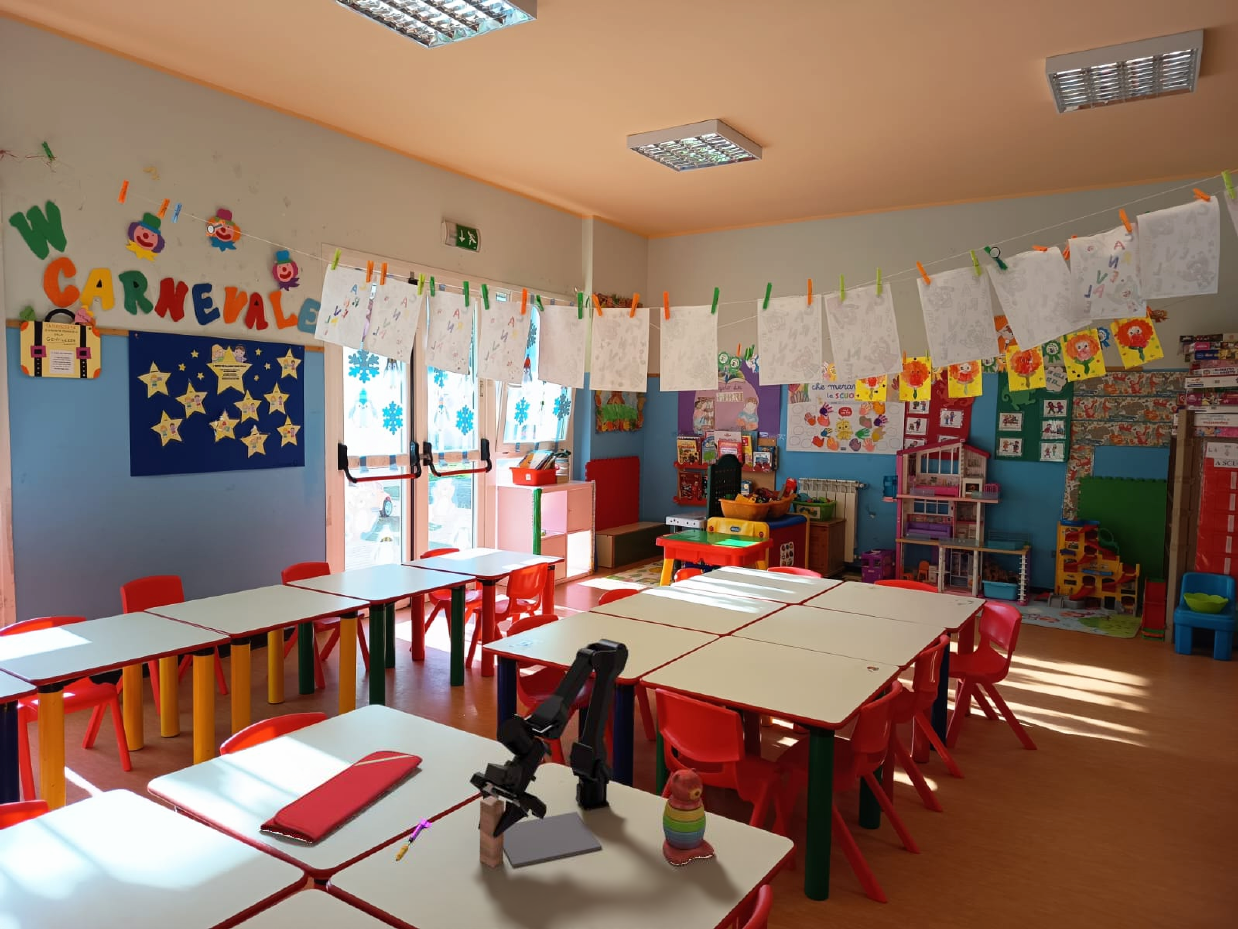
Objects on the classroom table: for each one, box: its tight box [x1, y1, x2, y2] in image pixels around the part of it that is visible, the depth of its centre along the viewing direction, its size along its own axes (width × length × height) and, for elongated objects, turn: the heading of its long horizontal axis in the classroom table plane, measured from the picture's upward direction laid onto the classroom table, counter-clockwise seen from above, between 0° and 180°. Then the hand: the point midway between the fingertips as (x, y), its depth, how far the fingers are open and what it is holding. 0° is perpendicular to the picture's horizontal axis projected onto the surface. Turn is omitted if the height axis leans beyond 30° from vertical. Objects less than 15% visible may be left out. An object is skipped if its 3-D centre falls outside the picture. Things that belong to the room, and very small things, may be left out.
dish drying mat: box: [259, 750, 423, 843], centre depth 200 cm, size 16×41×4 cm, turn 159°
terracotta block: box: [479, 796, 505, 868], centre depth 174 cm, size 3×4×13 cm
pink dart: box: [395, 818, 433, 861], centre depth 182 cm, size 3×1×16 cm
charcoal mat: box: [503, 811, 603, 868], centre depth 183 cm, size 20×16×1 cm
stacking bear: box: [662, 767, 715, 865], centre depth 179 cm, size 11×10×18 cm
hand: (486, 833), depth 173 cm, fingers closed on terracotta block, 4 cm apart
